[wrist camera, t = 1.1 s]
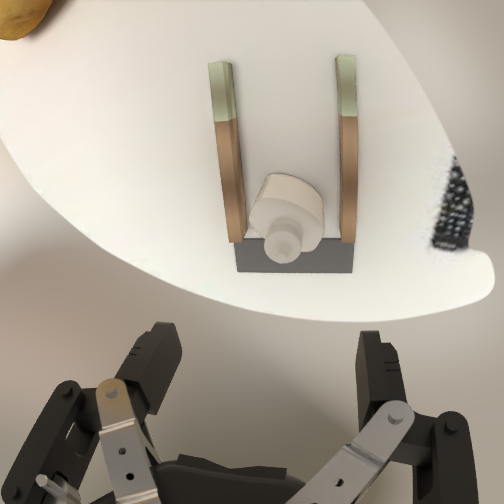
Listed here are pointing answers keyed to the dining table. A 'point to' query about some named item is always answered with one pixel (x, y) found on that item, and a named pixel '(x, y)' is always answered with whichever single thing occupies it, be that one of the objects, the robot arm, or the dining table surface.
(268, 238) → the eye dropper bottle
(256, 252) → the plate
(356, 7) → the dining table surface
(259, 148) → the dining table surface
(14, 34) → the potato
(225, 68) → the walnut channel
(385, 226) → the dining table surface
